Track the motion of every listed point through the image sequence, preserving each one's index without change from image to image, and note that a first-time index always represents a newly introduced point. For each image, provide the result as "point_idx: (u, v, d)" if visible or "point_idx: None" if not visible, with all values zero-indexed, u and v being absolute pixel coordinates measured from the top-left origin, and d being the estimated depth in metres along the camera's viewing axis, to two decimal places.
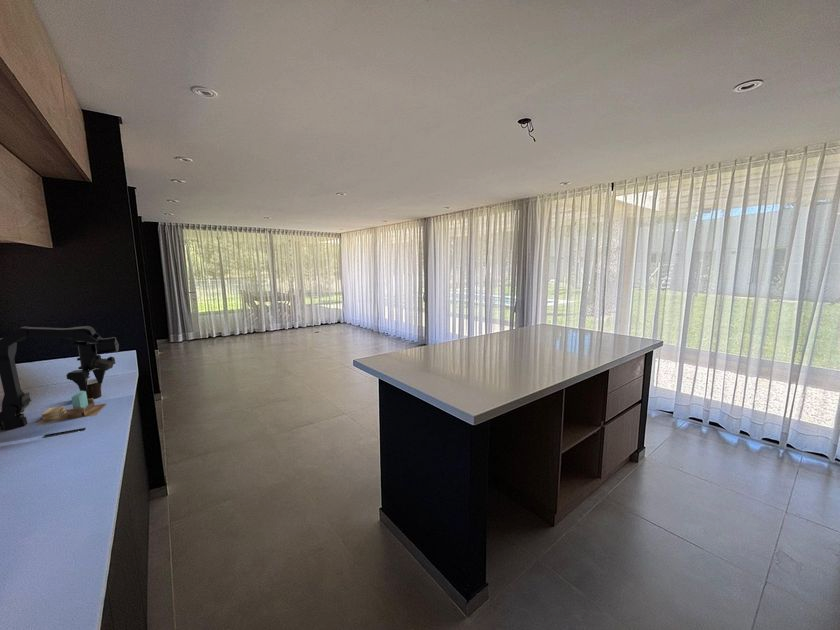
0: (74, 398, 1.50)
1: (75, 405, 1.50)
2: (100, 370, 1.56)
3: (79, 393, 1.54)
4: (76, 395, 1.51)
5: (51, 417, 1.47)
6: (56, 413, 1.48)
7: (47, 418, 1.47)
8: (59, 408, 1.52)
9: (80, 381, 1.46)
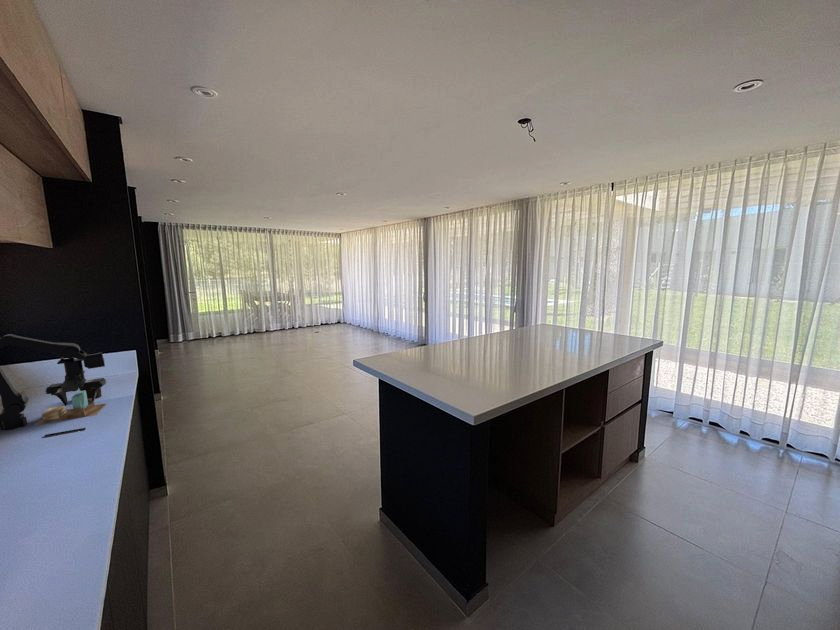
0: (74, 398, 1.50)
1: (75, 405, 1.50)
2: None
3: (79, 393, 1.54)
4: (76, 395, 1.51)
5: (51, 417, 1.47)
6: (56, 413, 1.48)
7: (47, 418, 1.47)
8: (59, 408, 1.52)
9: None
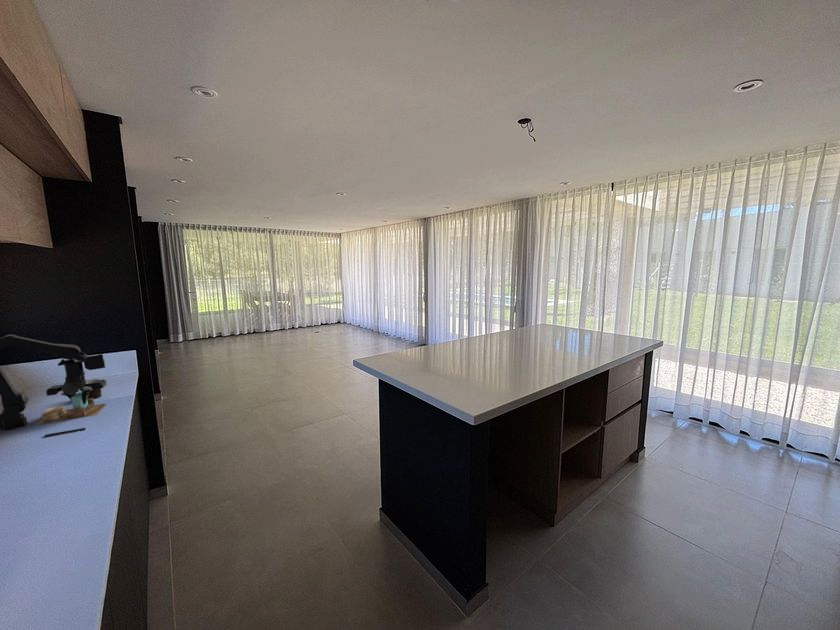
0: (74, 398, 1.50)
1: (75, 405, 1.50)
2: None
3: (79, 393, 1.54)
4: (76, 395, 1.51)
5: (51, 417, 1.47)
6: (56, 413, 1.48)
7: (47, 418, 1.47)
8: (59, 408, 1.52)
9: None
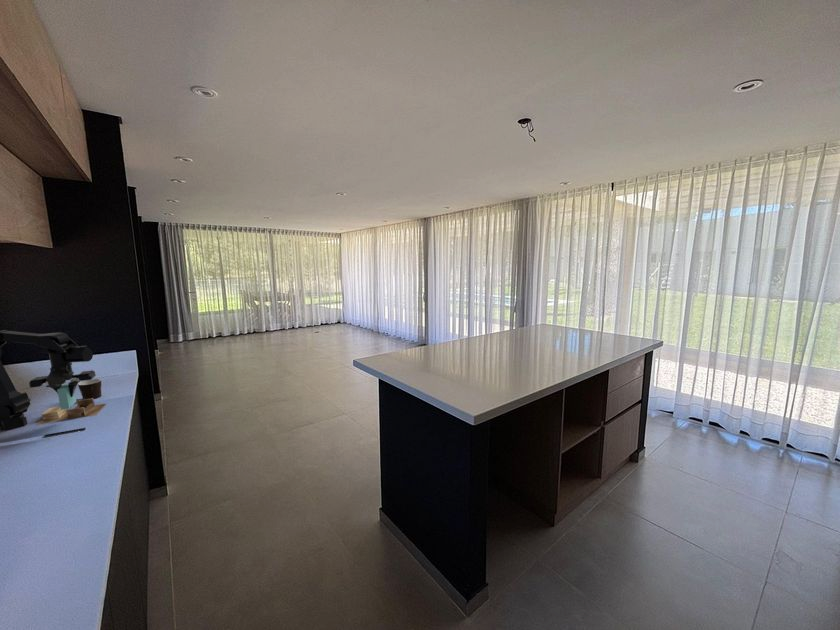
0: (60, 390, 1.39)
1: (61, 398, 1.39)
2: None
3: (66, 385, 1.43)
4: (62, 387, 1.40)
5: (51, 417, 1.47)
6: (56, 413, 1.48)
7: (47, 418, 1.47)
8: (59, 408, 1.52)
9: None
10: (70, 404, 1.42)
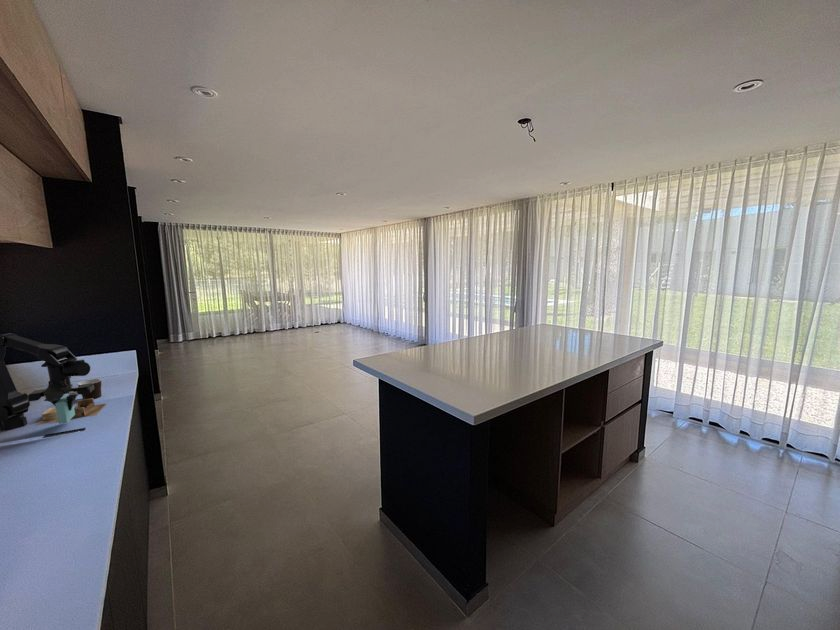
0: (58, 404, 1.37)
1: (59, 412, 1.38)
2: None
3: (64, 399, 1.41)
4: (61, 401, 1.39)
5: (51, 417, 1.47)
6: (56, 413, 1.48)
7: (47, 418, 1.47)
8: None
9: None
10: (68, 418, 1.41)
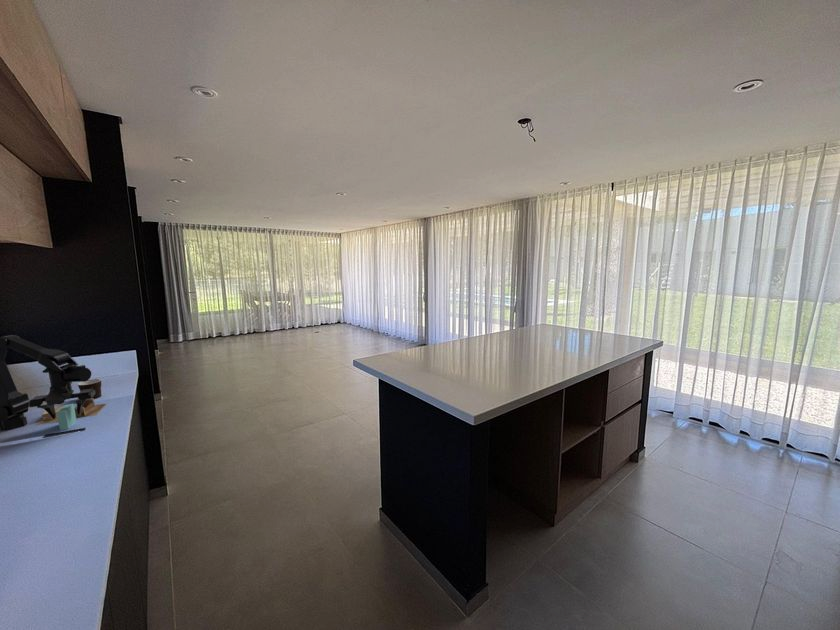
0: (60, 413, 1.38)
1: (61, 421, 1.38)
2: None
3: (66, 407, 1.42)
4: (62, 410, 1.39)
5: (51, 417, 1.47)
6: (56, 413, 1.48)
7: (47, 418, 1.47)
8: (59, 408, 1.52)
9: None
10: (70, 426, 1.41)
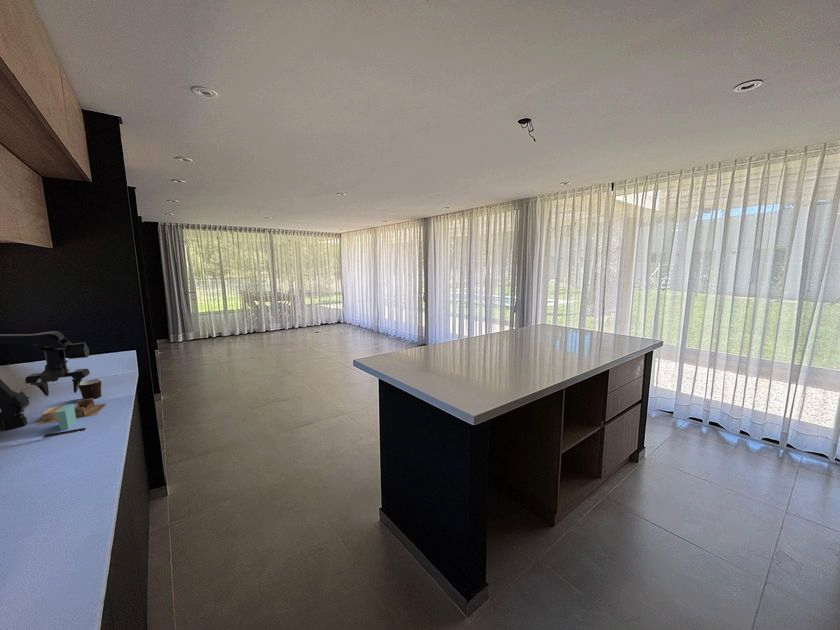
0: (60, 413, 1.38)
1: (61, 421, 1.38)
2: None
3: (66, 407, 1.42)
4: (62, 410, 1.39)
5: (51, 417, 1.47)
6: (56, 413, 1.48)
7: (47, 418, 1.47)
8: (59, 408, 1.52)
9: None
10: (70, 426, 1.41)
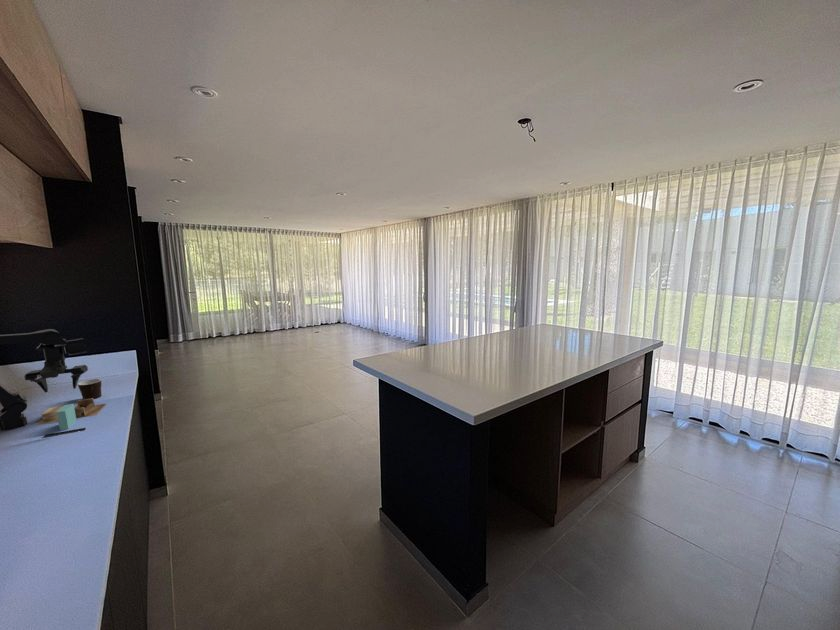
0: (60, 413, 1.38)
1: (61, 421, 1.38)
2: None
3: (66, 407, 1.42)
4: (62, 410, 1.39)
5: (51, 417, 1.47)
6: (56, 413, 1.48)
7: (47, 418, 1.47)
8: (59, 408, 1.52)
9: None
10: (70, 426, 1.41)
